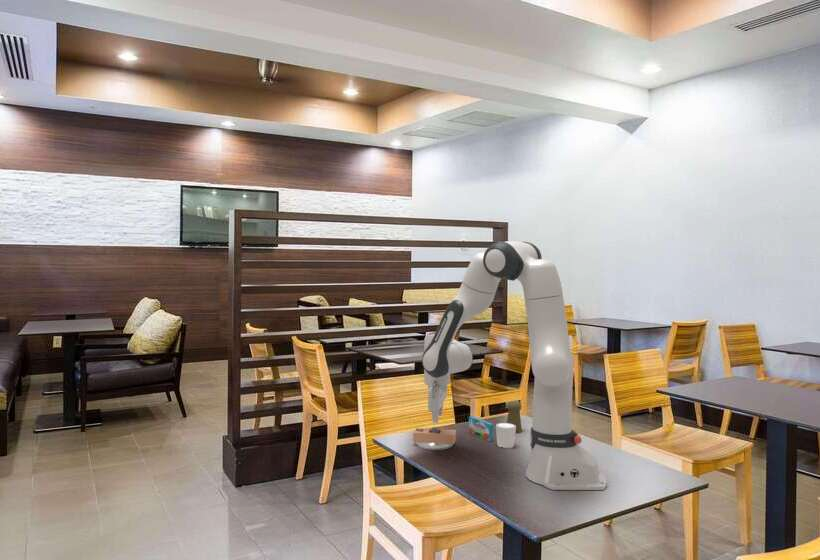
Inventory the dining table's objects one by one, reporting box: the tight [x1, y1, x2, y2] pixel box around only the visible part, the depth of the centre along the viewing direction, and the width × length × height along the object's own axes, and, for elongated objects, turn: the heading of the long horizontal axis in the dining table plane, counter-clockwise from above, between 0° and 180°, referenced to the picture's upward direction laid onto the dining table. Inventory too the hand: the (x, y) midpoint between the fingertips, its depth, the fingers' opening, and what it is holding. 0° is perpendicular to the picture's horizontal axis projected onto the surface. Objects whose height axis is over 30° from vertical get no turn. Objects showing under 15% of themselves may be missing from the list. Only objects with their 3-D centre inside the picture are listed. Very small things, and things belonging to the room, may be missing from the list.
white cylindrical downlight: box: [495, 422, 516, 449], centre depth 192 cm, size 7×7×7 cm
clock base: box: [415, 427, 455, 451], centre depth 192 cm, size 13×13×6 cm
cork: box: [506, 400, 523, 434], centre depth 209 cm, size 6×6×11 cm
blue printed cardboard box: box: [467, 415, 494, 442], centre depth 201 cm, size 12×2×6 cm, turn 31°
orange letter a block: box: [412, 427, 457, 445], centre depth 192 cm, size 14×6×3 cm, turn 80°
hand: (437, 418), depth 192 cm, fingers open, 8 cm apart
